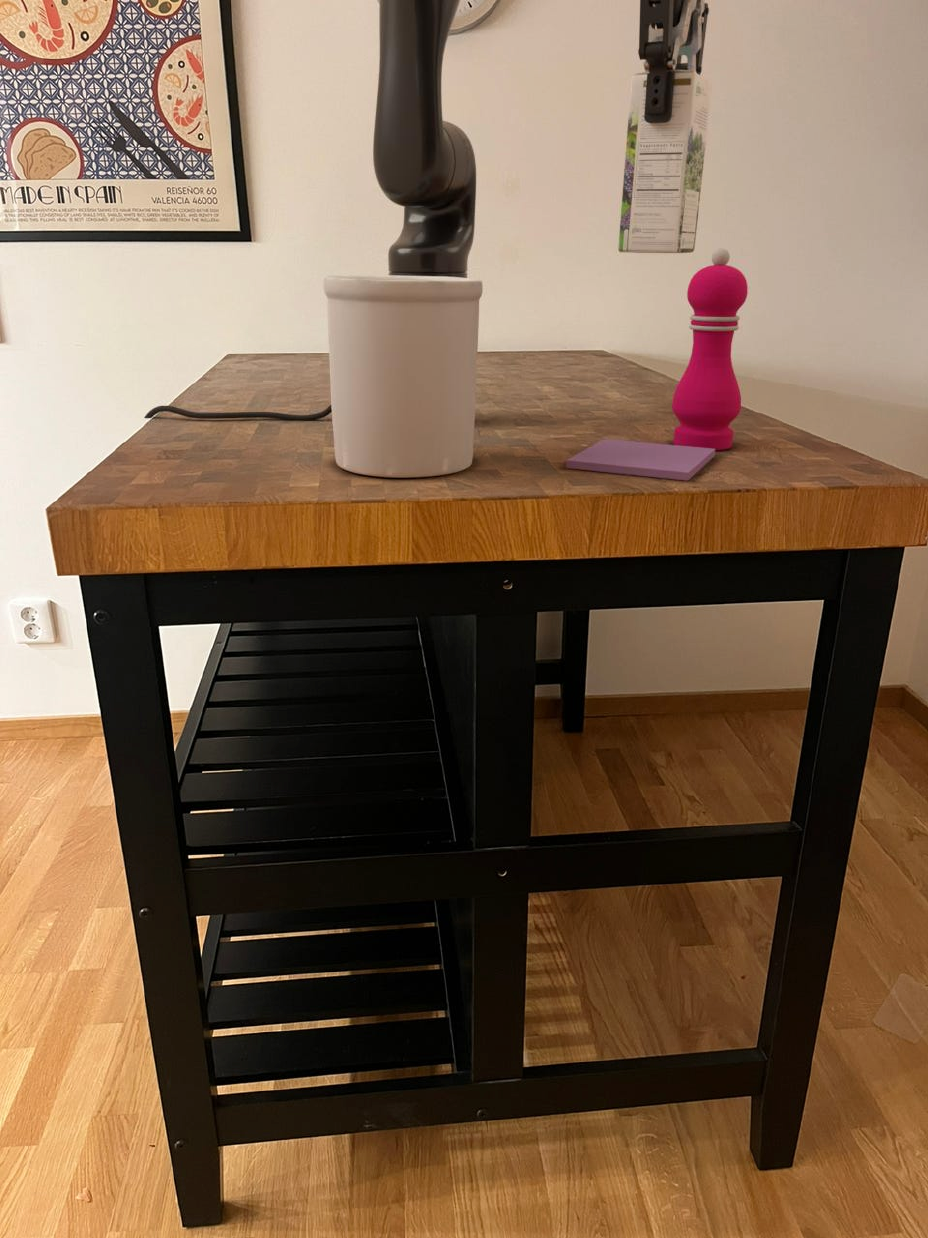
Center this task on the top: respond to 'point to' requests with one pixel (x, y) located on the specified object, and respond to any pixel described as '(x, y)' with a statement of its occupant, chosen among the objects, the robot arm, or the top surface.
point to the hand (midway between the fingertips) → (666, 125)
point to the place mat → (642, 459)
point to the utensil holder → (403, 372)
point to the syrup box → (664, 168)
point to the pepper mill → (711, 358)
